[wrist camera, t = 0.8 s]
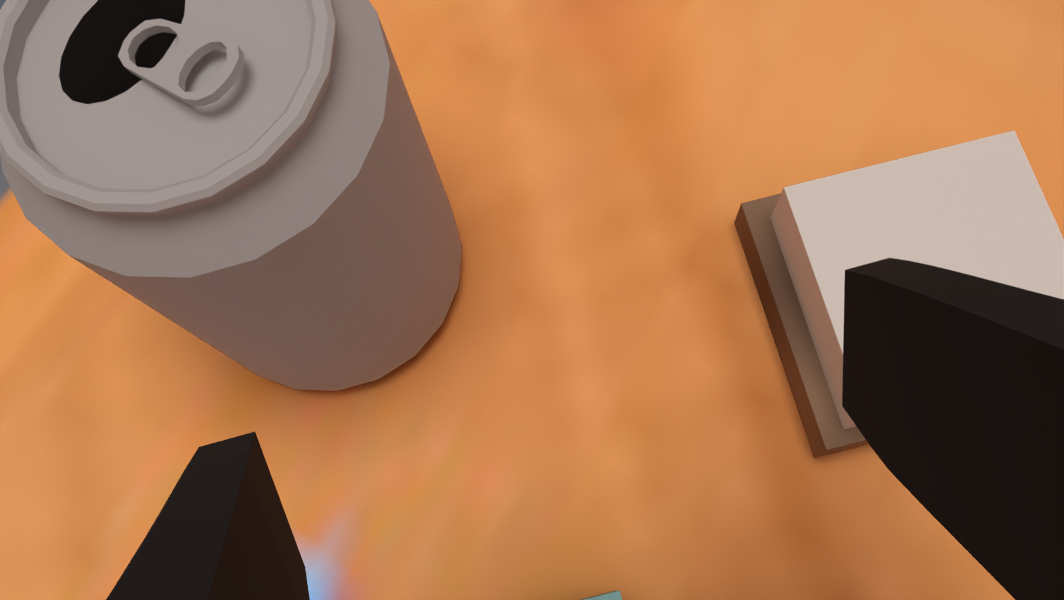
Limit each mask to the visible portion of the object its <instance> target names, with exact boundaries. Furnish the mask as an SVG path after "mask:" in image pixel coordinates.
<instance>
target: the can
mask: <svg viewBox="0 0 1064 600" xmlns="http://www.w3.org/2000/svg"><path fill="white" fill-rule="evenodd" d="M0 154H1V165H2V171H3V173H4V175H5V177H6V179H7V181H8V183H9V185H10V187H11V189H12V191H13V193H14V195H15V197H16V199H17V201H18V203H19V205H20V207H21V209H22V211H23V213H24V215H25V217H26V219H28V220H29V221H30V222H31V223H32V224H33V225H35V226H36V227H37V228H38V229H39V230H40V231H41V232H43V233H44V234H45V235H46V236H47V237H48V238H50V239H51V240H52V241H53V242H54V243H55V244H56V245H58V246H59V247H60V248H61V249H62V250H63V251H64V252H66V253H67V254H68V255H69V256H71V257H72V258H74V259H75V260H77V261H79V262H80V263H82V264H83V265H85V266H86V267H88V268H90V269H91V270H93V271H94V272H96V273H97V274H99V275H101V276H102V277H104V278H105V279H107V280H108V281H110V282H112V283H113V284H115V285H116V286H118V287H119V288H121V289H123V290H124V291H126V292H127V293H129V294H130V295H132V296H134V297H135V298H137V299H138V300H140V301H141V302H143V303H145V304H146V305H148V306H149V307H151V308H152V309H154V310H156V311H157V312H159V313H160V314H162V315H163V316H165V317H167V318H168V319H170V320H171V321H173V322H174V323H176V324H178V325H179V326H181V327H182V328H184V329H185V330H187V331H189V332H190V333H192V334H193V335H195V336H197V337H198V338H200V339H201V340H203V341H204V342H206V343H208V344H209V345H211V346H212V347H214V348H215V349H217V350H219V351H220V352H222V353H223V354H225V355H226V356H228V357H230V358H231V359H233V360H234V361H236V362H237V363H239V364H241V365H242V366H244V367H245V368H247V369H248V370H250V371H252V372H253V373H255V374H256V375H258V376H261V377H263V378H266V379H269V380H271V381H274V382H277V383H279V384H282V385H285V386H287V387H290V388H293V389H295V390H325V391H339V390H342V389H346V388H349V387H353V386H356V385H360V384H364V383H367V382H371V381H374V380H378V379H380V378H382V377H383V376H385V375H386V374H388V373H389V372H391V371H392V370H394V369H395V368H397V367H399V366H400V365H402V364H403V363H405V362H406V361H408V360H409V359H411V358H413V357H414V356H416V354H417V353H418V352H419V351H420V350H421V348H422V347H423V346H424V345H425V344H426V343H427V341H428V340H429V339H430V338H431V337H432V335H433V334H434V333H435V332H436V331H437V330H438V328H439V327H440V326H441V325H442V324H443V322H444V319H445V317H446V315H447V312H448V310H449V308H450V305H451V303H452V300H453V298H454V296H455V293H456V291H457V288H458V286H459V277H460V264H461V251H462V245H461V241H460V237H459V233H458V230H457V226H456V222H455V218H454V215H453V211H452V208H451V205H450V203H449V200H448V197H447V195H446V192H445V190H444V187H443V184H442V182H441V179H440V177H439V174H438V171H437V169H436V166H435V163H434V161H433V158H432V156H431V153H430V150H429V148H428V145H427V142H426V140H425V137H424V135H423V132H422V129H421V127H420V124H419V122H418V119H417V116H416V114H415V111H414V108H413V106H412V103H411V101H410V98H409V95H408V93H407V90H406V87H405V85H404V82H403V80H402V77H401V74H400V72H399V69H398V67H397V64H396V61H395V59H394V56H393V53H392V51H391V48H390V46H389V43H388V40H387V38H386V35H385V32H384V30H383V27H382V25H381V22H380V19H379V17H378V14H377V12H376V10H375V9H374V7H373V6H372V5H371V3H370V2H369V1H368V0H6V1H5V3H4V5H3V6H2V8H1V10H0Z"/></svg>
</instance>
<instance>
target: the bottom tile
mask: <svg viewBox="0 0 1064 600" xmlns="http://www.w3.org/2000/svg"><path fill="white" fill-rule="evenodd" d="M780 195H781V194H777V195H773V196H769V197H765V198H761V199H757V200H753V201H749V202H745V203H742V204H741V206H740V208H739V211H738V214H737V217H736V220H735V222H734V223H735V226H736V229H737V232H738V235H739V238H740V241H741V244H742V247H743V250H744V253H745V256H746V259H747V262H748V265H749V267H750V270H751V273H752V276H753V279H754V282H755V285H756V288H757V291H758V294H759V297H760V300H761V303H762V306H763V309H764V312H765V314H766V317H767V320H768V323H769V326H770V329H771V332H772V335H773V338H774V341H775V344H776V347H777V350H778V353H779V356H780V359H781V362H782V364H783V367H784V370H785V373H786V376H787V379H788V382H789V385H790V388H791V391H792V394H793V397H794V400H795V403H796V406H797V409H798V412H799V414H800V417H801V420H802V423H803V426H804V429H805V432H806V435H807V438H808V441H809V444H810V447H811V450H812V453H813V456H814V458H815V457H819V456H823V455H827V454H831V453H835V452H839V451H843V450H847V449H851V448H855V447H859V446H863V445H867V444H869V443H868V442H867V441H866V439H865V438H864V436H863V435H862V434H861V432H860V431H859V429H858V428H857V427H853V428H849V429H845V430H843V427H842V424H841V421H840V418H839V415H838V413H837V410H836V407H835V404H834V401H833V398H832V395H831V392H830V389H829V387H828V384H827V381H826V378H825V375H824V372H823V369H822V366H821V363H820V361H819V358H818V355H817V352H816V349H815V346H814V343H813V340H812V337H811V335H810V332H809V329H808V326H807V323H806V320H805V317H804V314H803V311H802V309H801V306H800V303H799V300H798V297H797V294H796V291H795V288H794V285H793V283H792V280H791V277H790V274H789V271H788V268H787V265H786V262H785V259H784V257H783V254H782V251H781V248H780V245H779V242H778V239H777V236H776V233H775V230H774V228H773V225H772V222H771V219H770V217H771V215H772V213H773V211H774V208H775V206H776V204H777V202H778V199H779V197H780Z"/></svg>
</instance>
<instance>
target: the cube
mask: <svg viewBox="0 0 1064 600" xmlns="http://www.w3.org/2000/svg"><path fill="white" fill-rule="evenodd" d="M581 600H622V597H621V594H620V591H612V592H608V593H604V594H601V595H597V596H593V597H589V598H585V599H581Z"/></svg>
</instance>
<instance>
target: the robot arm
mask: <svg viewBox="0 0 1064 600" xmlns="http://www.w3.org/2000/svg"><path fill="white" fill-rule="evenodd" d="M842 406H843V408H844V409H845V411H846V412H847V414H848V415H849V416H850V418H851V419H852V421H853V422H854V424H855V425H856V426H857V428H858V429H859V431H860V432H861V434H862V435H863V436H864V438H865V439H866V441H867V442H868V443H869V445H870V446H871V447H872V449H873V450H874V451H875V452H876V454H877V455H878V456H879V458H880V459H881V460H882V462H883V463H884V464H885V466H886V467H887V468H888V469H889V470H890V471H891V472H892V473H893V475H894V476H895V477H896V478H897V479H898V480H899V481H900V482H901V483H902V484H903V485H904V486H905V487H906V488H907V489H908V490H909V491H910V492H911V494H912V495H913V496H914V497H915V498H916V499H917V500H918V501H919V502H920V503H921V504H922V505H923V506H924V507H925V508H926V509H927V510H928V511H929V512H930V513H931V514H932V515H933V516H934V517H935V518H936V519H937V520H938V521H939V522H940V523H941V524H942V525H943V526H944V527H945V529H946V530H947V531H948V532H949V533H950V534H951V535H952V536H953V537H954V538H955V539H956V540H957V541H958V542H959V543H960V544H961V545H962V546H963V547H964V548H965V549H966V550H967V551H968V552H969V553H970V554H971V555H972V556H973V557H974V558H975V559H976V560H977V561H978V562H979V563H980V564H981V565H982V566H983V567H984V568H985V569H986V570H987V571H988V572H989V573H990V574H991V575H992V576H993V577H994V578H995V579H996V580H997V581H998V582H999V583H1000V584H1001V585H1002V586H1003V587H1004V588H1005V589H1006V590H1007V591H1008V593H1009V594H1010V595H1011V596H1012V597H1013V598H1014V599H1015V600H1064V299H1060V298H1056V297H1052V296H1048V295H1045V294H1041V293H1037V292H1033V291H1029V290H1025V289H1022V288H1018V287H1014V286H1010V285H1006V284H1003V283H999V282H995V281H991V280H987V279H984V278H980V277H976V276H972V275H968V274H964V273H960V272H956V271H952V270H948V269H944V268H940V267H936V266H931V265H927V264H922V263H918V262H913V261H907V260H901V259H895V258H887V259H883V260H879V261H876V262H872V263H868V264H865V265H861V266H857V267H854V268H850V269H846V270H845V284H844V335H843V385H842ZM106 600H310V599H309V592H308V585H307V578H306V571H305V566H304V563H303V560H302V558H301V555H300V552H299V550H298V547H297V544H296V541H295V539H294V536H293V533H292V531H291V528H290V525H289V523H288V520H287V517H286V514H285V512H284V509H283V506H282V504H281V501H280V498H279V495H278V493H277V490H276V487H275V485H274V482H273V479H272V477H271V474H270V471H269V468H268V466H267V463H266V460H265V458H264V455H263V452H262V449H261V447H260V444H259V441H258V439H257V436H256V433H255V432H252V433H249V434H245V435H241V436H238V437H234V438H230V439H227V440H223V441H219V442H216V443H212V444H208V445H205V446H201V447H199V448H198V450H197V451H196V453H195V454H194V456H193V457H192V459H191V461H190V462H189V464H188V465H187V467H186V469H185V470H184V472H183V474H182V475H181V477H180V479H179V481H178V482H177V484H176V486H175V488H174V489H173V491H172V493H171V494H170V496H169V498H168V500H167V501H166V503H165V505H164V507H163V508H162V510H161V512H160V513H159V515H158V517H157V518H156V520H155V522H154V524H153V525H152V527H151V529H150V530H149V532H148V534H147V535H146V537H145V539H144V540H143V542H142V544H141V545H140V547H139V548H138V550H137V552H136V553H135V555H134V556H133V558H132V560H131V561H130V563H129V564H128V566H127V568H126V569H125V571H124V572H123V574H122V576H121V577H120V579H119V580H118V582H117V584H116V585H115V587H114V588H113V590H112V592H111V593H110V595H109V596H108V598H107V599H106Z"/></svg>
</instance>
